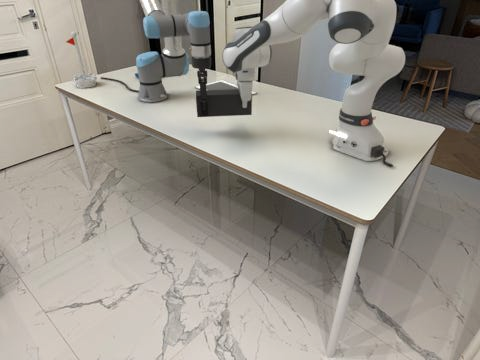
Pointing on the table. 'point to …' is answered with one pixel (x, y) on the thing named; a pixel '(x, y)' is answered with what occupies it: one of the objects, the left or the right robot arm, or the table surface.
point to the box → (224, 103)
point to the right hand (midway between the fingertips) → (243, 103)
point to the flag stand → (82, 68)
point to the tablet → (221, 86)
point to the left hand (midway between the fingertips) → (204, 112)
